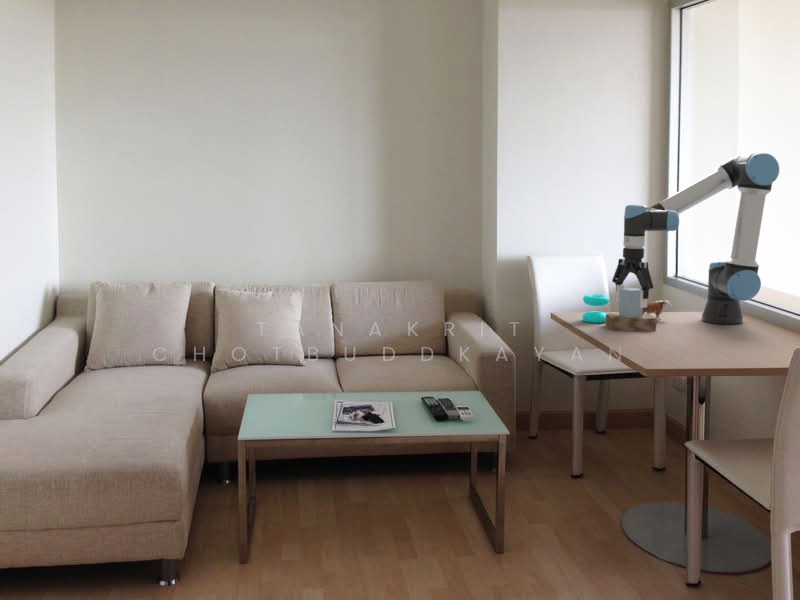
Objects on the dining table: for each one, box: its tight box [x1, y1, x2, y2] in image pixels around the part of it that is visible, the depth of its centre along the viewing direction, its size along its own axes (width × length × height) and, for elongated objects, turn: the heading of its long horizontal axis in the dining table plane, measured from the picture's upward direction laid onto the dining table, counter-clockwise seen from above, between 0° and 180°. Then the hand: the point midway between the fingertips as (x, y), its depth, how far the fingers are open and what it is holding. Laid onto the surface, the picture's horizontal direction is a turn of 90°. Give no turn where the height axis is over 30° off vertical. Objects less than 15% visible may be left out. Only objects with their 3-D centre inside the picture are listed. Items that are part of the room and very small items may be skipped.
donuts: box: [581, 293, 611, 324], centre depth 369 cm, size 10×10×10 cm
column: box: [618, 287, 643, 318], centre depth 354 cm, size 6×6×10 cm
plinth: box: [605, 313, 657, 332], centre depth 355 cm, size 16×10×5 cm, turn 92°
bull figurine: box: [643, 299, 672, 322], centre depth 372 cm, size 4×13×8 cm, turn 81°
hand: (631, 304), depth 354 cm, fingers open, 13 cm apart
